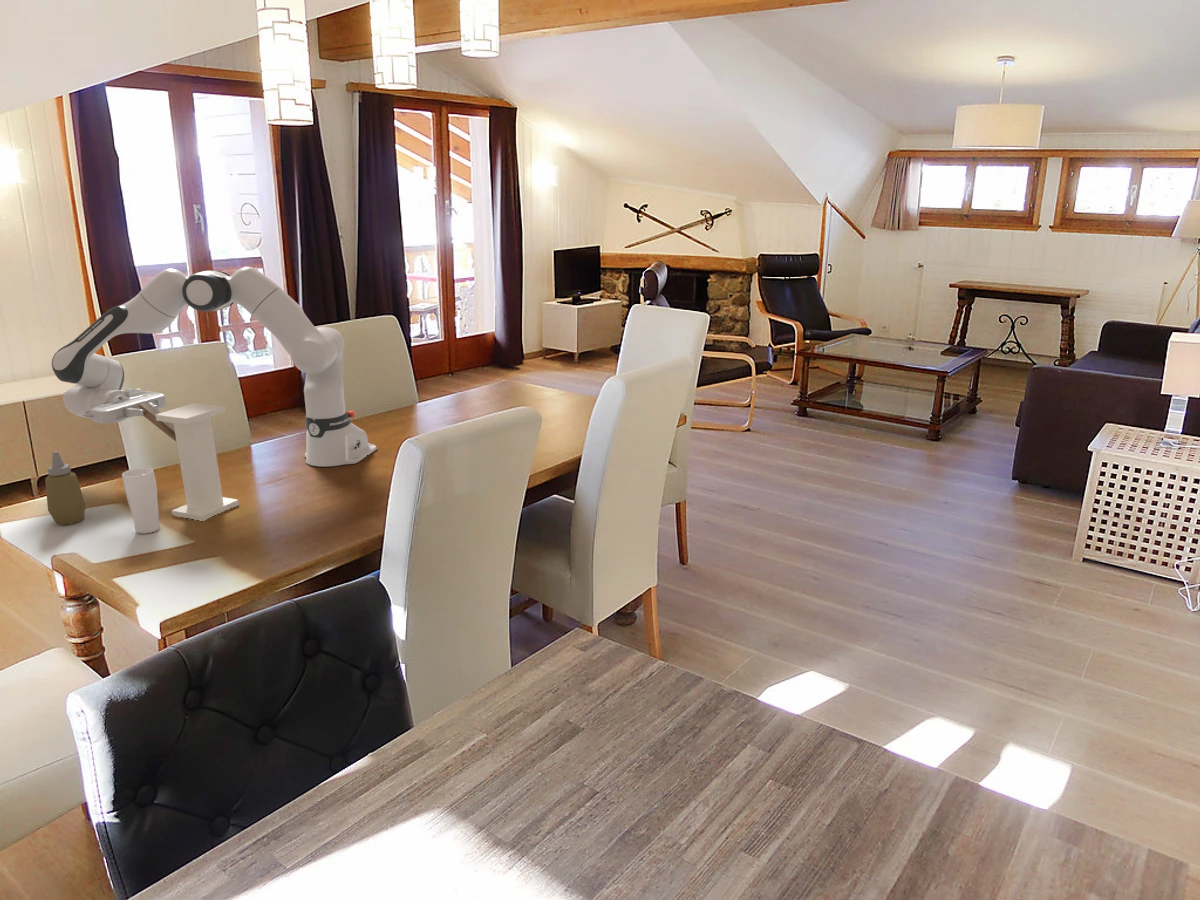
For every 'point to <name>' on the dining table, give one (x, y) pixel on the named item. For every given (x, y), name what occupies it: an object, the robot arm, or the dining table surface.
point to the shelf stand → (198, 460)
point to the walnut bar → (164, 426)
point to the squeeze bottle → (64, 493)
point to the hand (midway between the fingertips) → (150, 410)
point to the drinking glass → (142, 499)
